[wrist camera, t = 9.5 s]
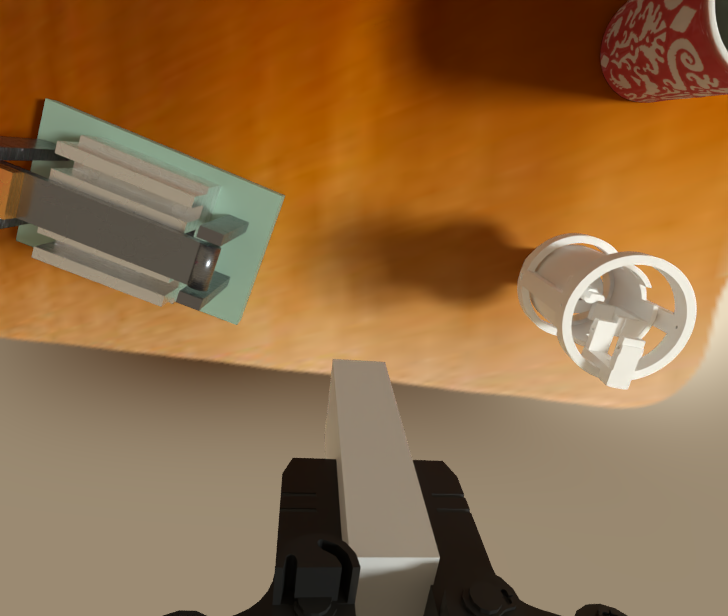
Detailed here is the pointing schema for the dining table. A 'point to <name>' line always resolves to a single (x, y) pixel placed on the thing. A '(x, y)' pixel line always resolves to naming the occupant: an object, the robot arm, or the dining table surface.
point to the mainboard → (235, 192)
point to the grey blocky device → (136, 194)
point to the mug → (667, 49)
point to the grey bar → (106, 227)
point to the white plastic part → (605, 306)
